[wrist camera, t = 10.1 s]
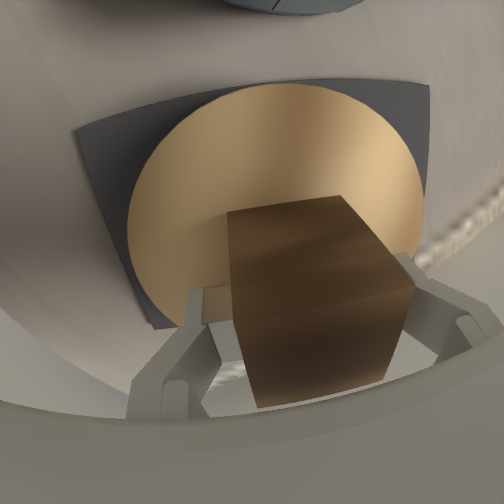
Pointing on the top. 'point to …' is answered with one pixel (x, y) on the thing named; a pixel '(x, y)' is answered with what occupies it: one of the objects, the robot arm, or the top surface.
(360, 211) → the lid
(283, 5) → the bowl
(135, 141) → the mat
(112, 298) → the top surface
